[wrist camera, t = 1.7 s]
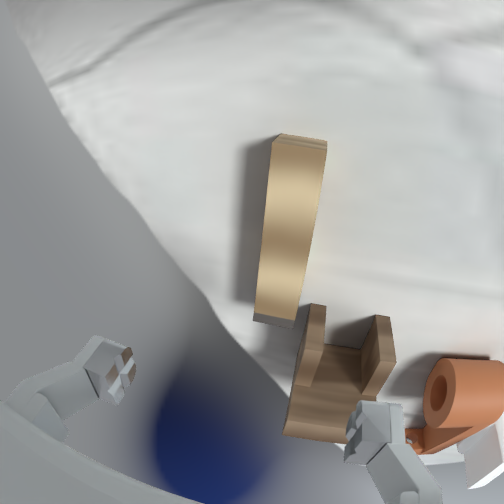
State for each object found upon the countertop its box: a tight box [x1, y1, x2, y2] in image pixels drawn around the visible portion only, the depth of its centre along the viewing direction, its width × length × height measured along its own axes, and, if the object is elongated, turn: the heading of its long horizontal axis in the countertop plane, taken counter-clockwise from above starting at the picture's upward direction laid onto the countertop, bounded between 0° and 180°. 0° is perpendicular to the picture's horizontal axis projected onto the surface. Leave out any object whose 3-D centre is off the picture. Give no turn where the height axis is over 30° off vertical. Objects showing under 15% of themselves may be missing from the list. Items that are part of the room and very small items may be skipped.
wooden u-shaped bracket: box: [282, 303, 396, 444], centre depth 27 cm, size 8×8×10 cm
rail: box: [253, 134, 327, 329], centre depth 25 cm, size 15×4×4 cm, turn 175°
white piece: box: [457, 412, 504, 489], centre depth 27 cm, size 9×9×12 cm
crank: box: [405, 358, 504, 455], centre depth 30 cm, size 20×8×8 cm, turn 177°
